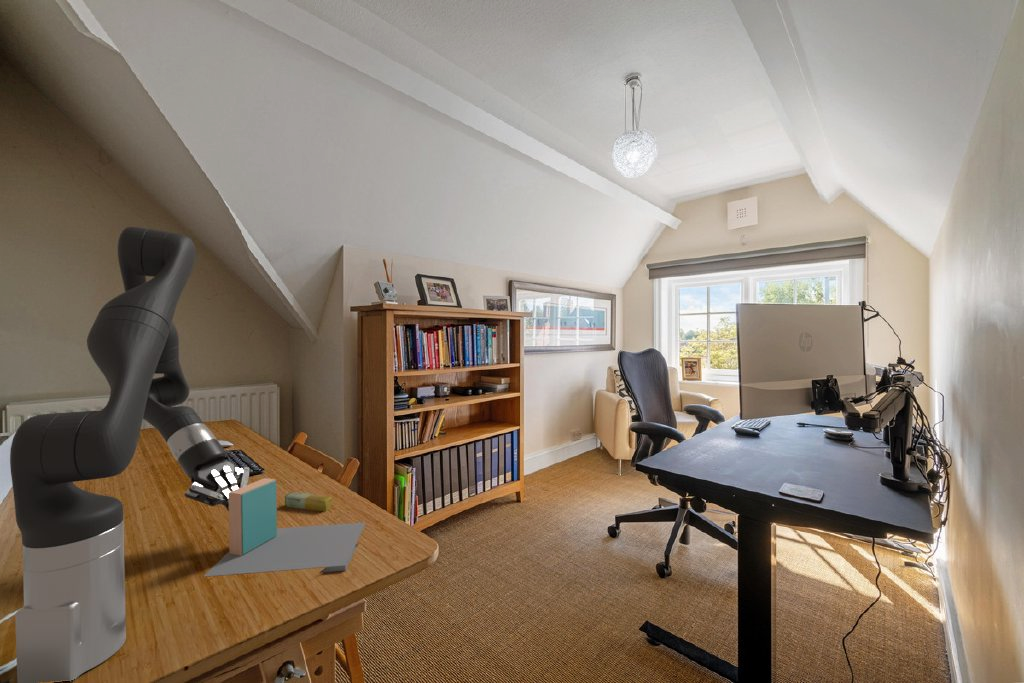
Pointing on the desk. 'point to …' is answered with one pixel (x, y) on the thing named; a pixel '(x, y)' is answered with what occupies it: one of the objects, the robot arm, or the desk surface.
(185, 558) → the desk surface
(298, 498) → the medication box
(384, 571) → the desk surface
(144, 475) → the desk surface
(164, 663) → the desk surface
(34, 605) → the robot arm
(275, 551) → the slate mat
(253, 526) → the salmon pink box
